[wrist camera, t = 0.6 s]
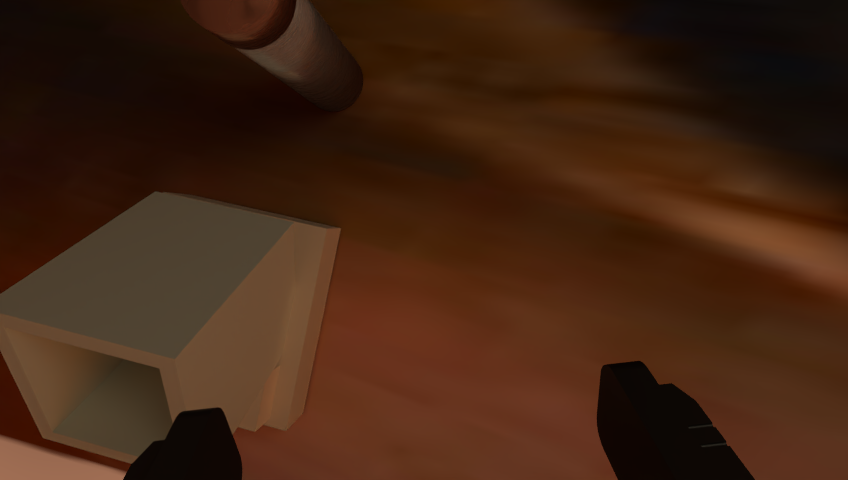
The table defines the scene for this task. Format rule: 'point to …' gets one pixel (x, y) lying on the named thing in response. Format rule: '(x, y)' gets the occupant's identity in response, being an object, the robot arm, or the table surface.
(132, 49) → the table surface
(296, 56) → the peg
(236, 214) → the socket
